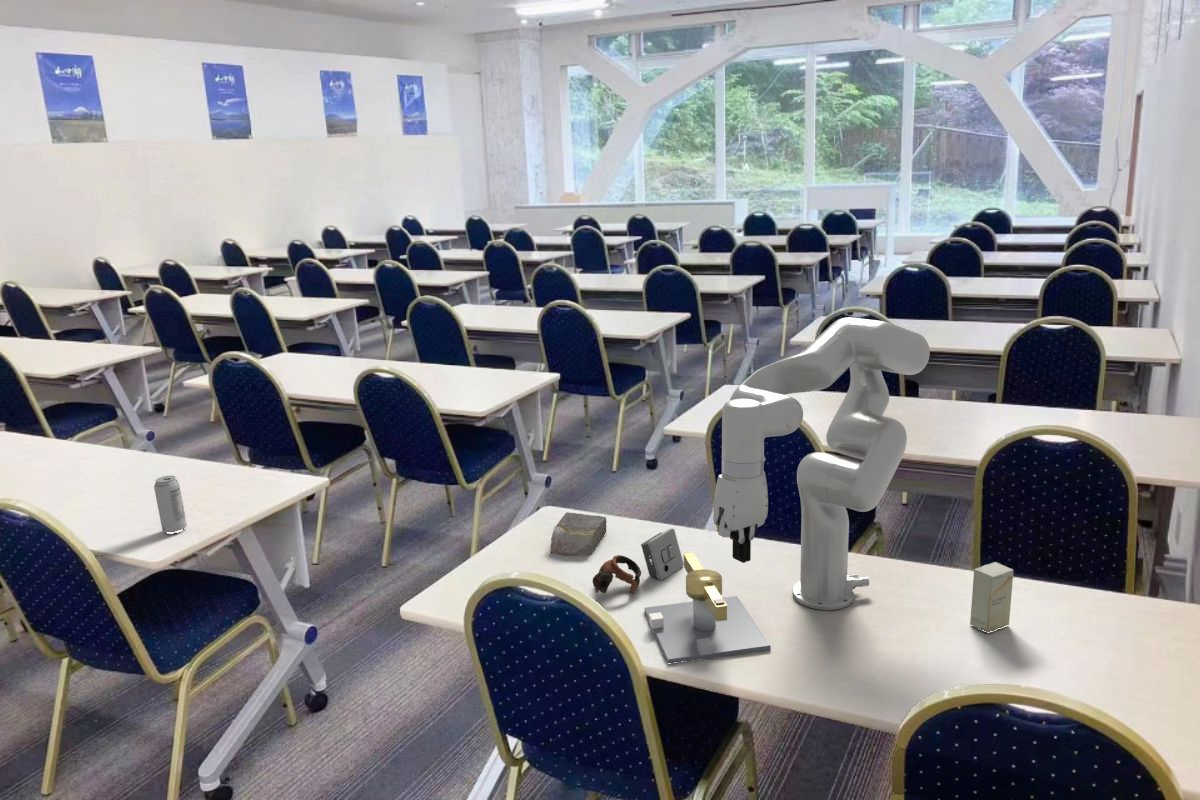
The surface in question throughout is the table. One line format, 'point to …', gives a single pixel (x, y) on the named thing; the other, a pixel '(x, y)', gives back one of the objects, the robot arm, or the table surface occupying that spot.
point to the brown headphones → (617, 574)
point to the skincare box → (991, 596)
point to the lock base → (704, 631)
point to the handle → (705, 586)
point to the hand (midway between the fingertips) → (741, 559)
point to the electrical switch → (662, 554)
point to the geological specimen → (577, 534)
